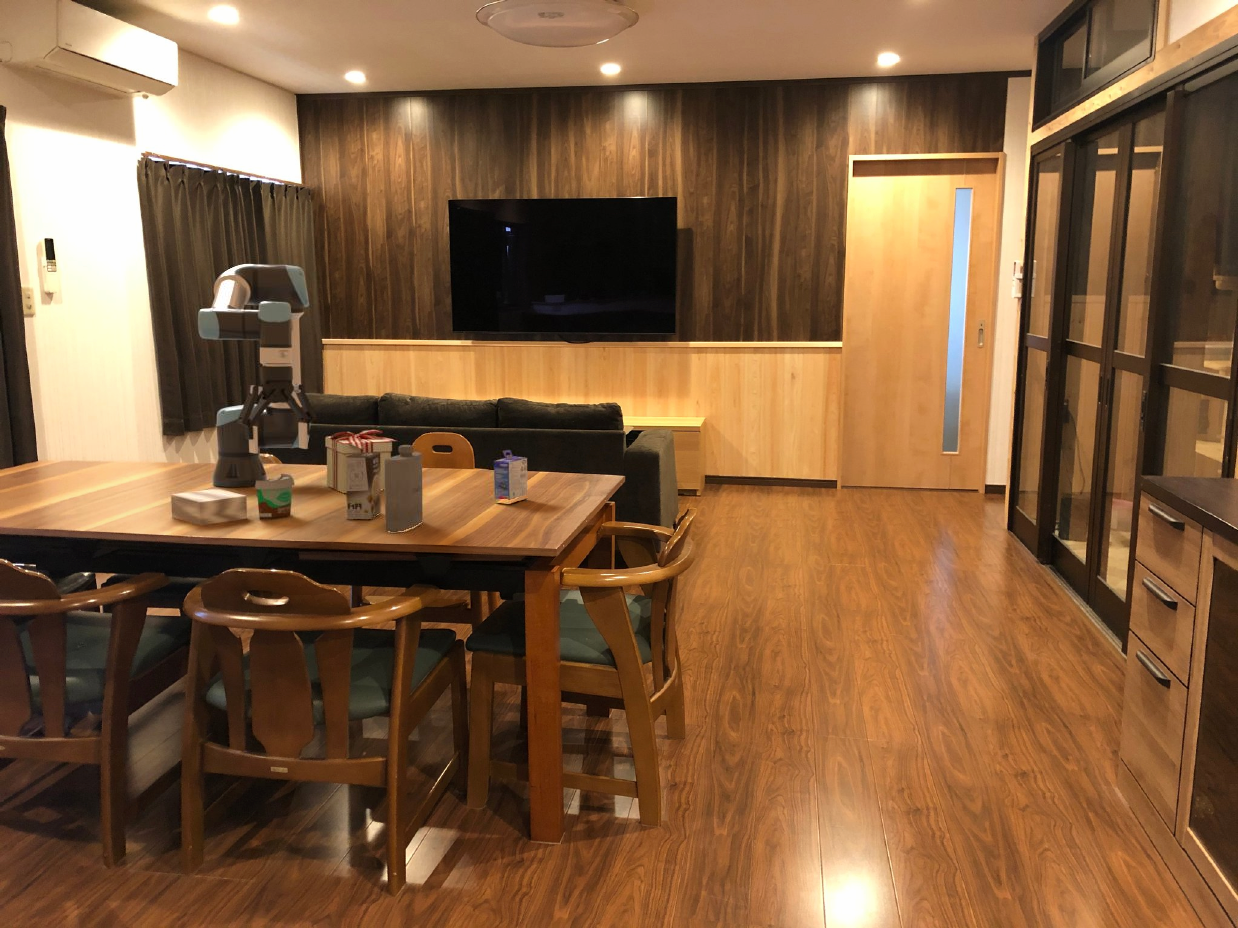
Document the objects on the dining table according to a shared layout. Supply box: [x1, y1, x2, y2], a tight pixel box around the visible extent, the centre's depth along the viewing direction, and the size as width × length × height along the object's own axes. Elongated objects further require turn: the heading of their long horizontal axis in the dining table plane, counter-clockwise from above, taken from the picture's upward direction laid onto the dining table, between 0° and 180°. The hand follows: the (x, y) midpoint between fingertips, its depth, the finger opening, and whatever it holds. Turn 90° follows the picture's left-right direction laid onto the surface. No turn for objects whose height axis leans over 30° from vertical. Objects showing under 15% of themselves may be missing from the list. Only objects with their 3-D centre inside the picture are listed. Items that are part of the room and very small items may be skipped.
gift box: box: [325, 429, 397, 494], centre depth 280 cm, size 17×18×17 cm
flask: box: [384, 444, 424, 532], centre depth 230 cm, size 15×6×20 cm, turn 170°
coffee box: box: [346, 452, 382, 520], centre depth 241 cm, size 9×6×16 cm
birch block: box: [170, 488, 248, 526], centre depth 237 cm, size 12×14×6 cm
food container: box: [254, 473, 296, 521], centre depth 239 cm, size 12×6×10 cm, turn 168°
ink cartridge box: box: [493, 449, 528, 500], centre depth 266 cm, size 10×6×14 cm, turn 155°
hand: (279, 450), depth 237 cm, fingers open, 13 cm apart
